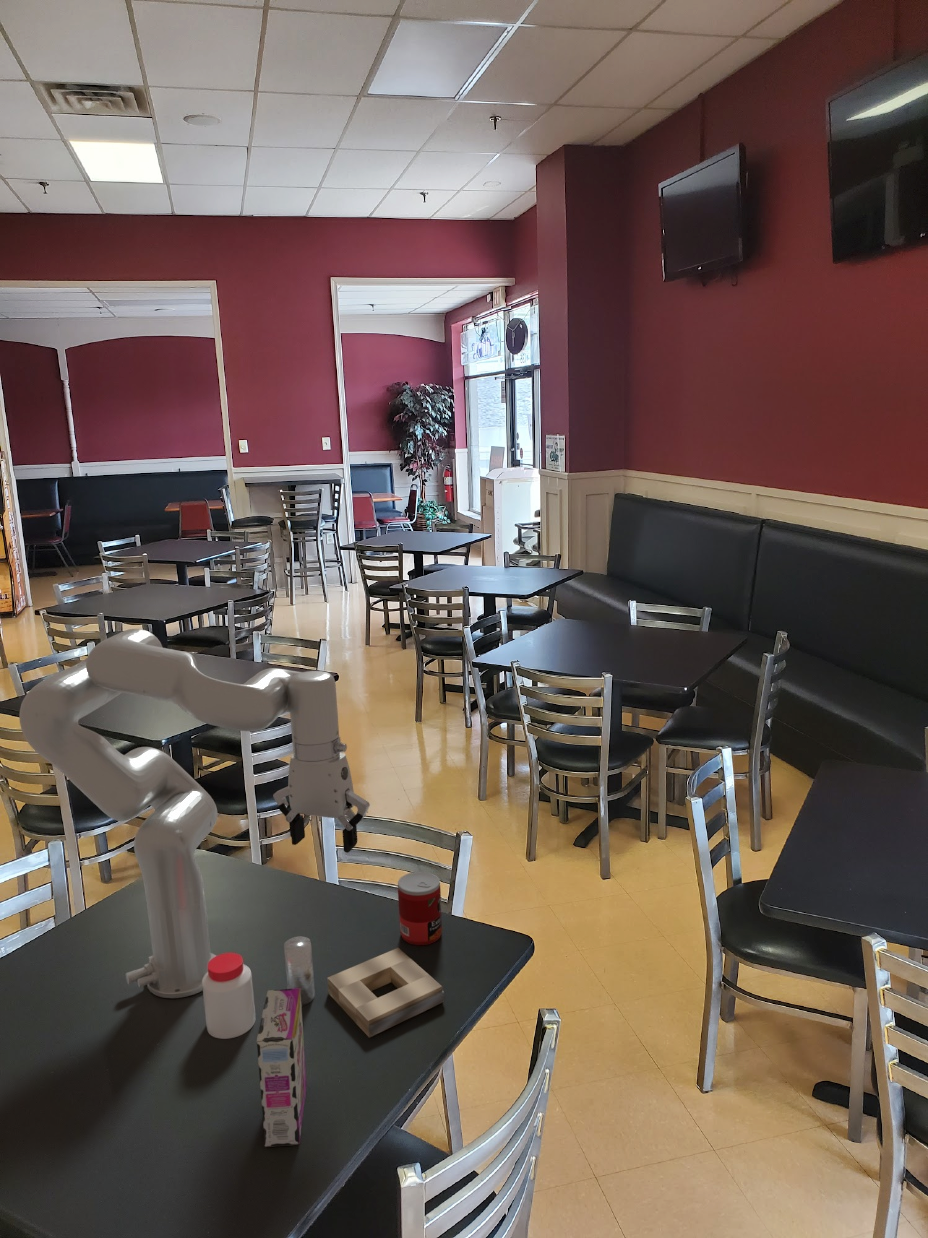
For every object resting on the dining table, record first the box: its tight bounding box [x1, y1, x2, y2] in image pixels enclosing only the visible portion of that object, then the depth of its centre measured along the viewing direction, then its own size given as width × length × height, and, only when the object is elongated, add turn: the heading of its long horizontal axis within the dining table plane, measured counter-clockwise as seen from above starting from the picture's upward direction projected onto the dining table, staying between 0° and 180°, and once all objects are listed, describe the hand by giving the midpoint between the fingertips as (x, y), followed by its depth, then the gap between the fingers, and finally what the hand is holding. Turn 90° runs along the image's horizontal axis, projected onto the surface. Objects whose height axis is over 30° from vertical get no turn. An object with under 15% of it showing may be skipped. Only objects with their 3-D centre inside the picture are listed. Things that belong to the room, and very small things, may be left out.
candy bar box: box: [256, 988, 308, 1148], centre depth 121 cm, size 11×5×16 cm, turn 5°
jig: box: [327, 947, 446, 1038], centre depth 147 cm, size 14×15×3 cm
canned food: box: [397, 871, 443, 946], centre depth 165 cm, size 8×8×11 cm
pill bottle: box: [202, 952, 257, 1040], centre depth 142 cm, size 8×8×11 cm
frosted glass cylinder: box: [283, 935, 316, 1006], centre depth 148 cm, size 4×4×10 cm
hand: (324, 845), depth 146 cm, fingers open, 9 cm apart
